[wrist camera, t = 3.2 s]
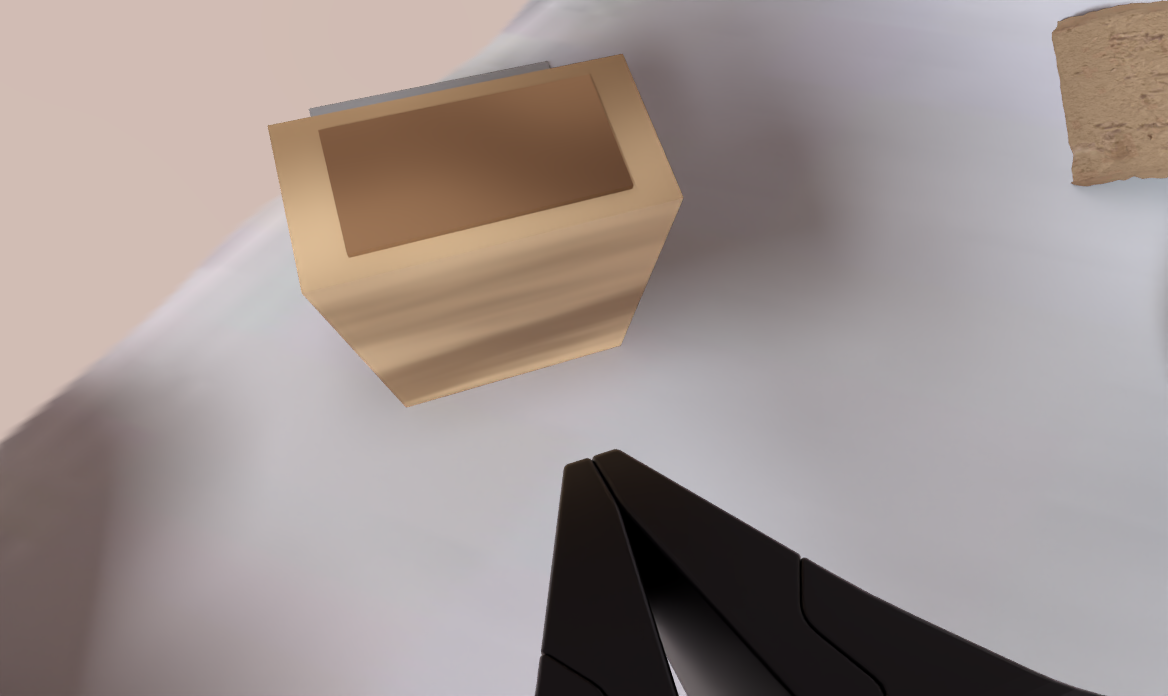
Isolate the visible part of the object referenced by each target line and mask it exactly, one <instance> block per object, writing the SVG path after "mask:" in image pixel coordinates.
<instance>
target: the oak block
mask: <svg viewBox="0 0 1168 696" xmlns="http://www.w3.org/2000/svg"><path fill="white" fill-rule="evenodd" d="M268 130H269V134H270V140H271V144H272V149H273V154H274V159H275V164H276V169H277V174H278V179H279V183H280V189H281V194H282V198H283V203H284V208H285V213H286V218H287V223H288V228H289V233H290V238H291V242H292V247H293V252H294V257H295V262H296V267H297V272H298V277H299V282H300V287H301V291H302V294H303V295H304V296H305V297H306V298H307V299H308V300H309V302H310V303H311V304H312V305H313V306H314V307H315V308H316V309H317V310H318V311H319V313H320V314H321V315H322V316H323V317H324V318H325V319H326V320H327V321H328V322H329V323H330V325H331V326H332V327H333V328H334V329H335V330H336V331H337V332H338V333H339V334H340V335H341V337H342V338H343V339H344V340H345V341H346V342H347V343H348V344H349V345H350V346H351V348H352V349H353V350H354V351H355V352H356V353H357V354H358V355H359V356H360V357H361V358H362V360H363V361H364V362H365V363H366V364H367V365H368V366H369V367H370V368H371V369H372V371H373V372H374V373H375V374H376V375H377V376H378V377H379V378H380V379H381V380H382V381H383V383H384V384H385V385H386V386H387V387H388V388H389V389H390V390H391V391H392V392H393V393H394V395H395V396H396V397H397V398H398V399H399V400H400V401H401V402H402V403H403V404H404V406H405V407H410V406H413V405H417V404H420V403H423V402H427V401H430V400H434V399H437V398H441V397H444V396H448V395H451V394H455V393H458V392H462V391H465V390H468V389H472V388H475V387H479V386H482V385H486V384H489V383H493V382H496V381H500V380H503V379H506V378H510V377H513V376H517V375H520V374H524V373H527V372H531V371H534V370H538V369H541V368H544V367H548V366H551V365H555V364H558V363H562V362H565V361H569V360H572V359H576V358H579V357H582V356H586V355H589V354H593V353H596V352H600V351H603V350H607V349H610V348H614V347H617V346H621V343H622V341H623V339H624V336H625V334H626V332H627V329H628V327H629V325H630V322H631V320H632V317H633V315H634V313H635V310H636V308H637V306H638V303H639V301H640V299H641V296H642V294H643V292H644V289H645V287H646V285H647V282H648V280H649V278H650V275H651V273H652V271H653V268H654V266H655V264H656V261H657V259H658V256H659V254H660V252H661V249H662V247H663V245H664V242H665V240H666V238H667V235H668V233H669V231H670V228H671V226H672V224H673V221H674V219H675V217H676V214H677V212H678V210H679V207H680V205H681V203H682V200H683V195H682V193H681V191H680V188H679V186H678V184H677V181H676V179H675V176H674V174H673V172H672V169H671V167H670V165H669V162H668V160H667V158H666V155H665V153H664V151H663V148H662V146H661V143H660V141H659V139H658V136H657V134H656V132H655V129H654V127H653V125H652V122H651V120H650V117H649V115H648V113H647V110H646V108H645V106H644V103H643V101H642V99H641V96H640V94H639V91H638V89H637V87H636V84H635V82H634V80H633V77H632V75H631V73H630V70H629V68H628V65H627V63H626V61H625V58H624V56H623V54H619V55H614V56H609V57H604V58H599V59H594V60H590V61H585V62H580V63H575V64H570V65H565V66H560V67H555V68H550V69H545V70H540V71H535V72H530V73H525V74H520V75H515V76H510V77H505V78H501V79H496V80H491V81H486V82H481V83H476V84H471V85H466V86H461V87H456V88H451V89H446V90H441V91H436V92H431V93H426V94H421V95H417V96H412V97H407V98H402V99H397V100H392V101H387V102H382V103H377V104H372V105H367V106H362V107H357V108H352V109H347V110H342V111H337V112H333V113H328V114H323V115H318V116H313V117H308V118H303V119H298V120H293V121H288V122H284V123H279V124H273V125H268Z"/></svg>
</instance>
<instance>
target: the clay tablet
mask: <svg viewBox="0 0 1168 696" xmlns="http://www.w3.org/2000/svg"><path fill="white" fill-rule="evenodd" d="M1052 41H1053V46H1054V51H1055V54H1056V60H1057V68H1058V73H1059V77H1060V88H1061V94H1062V101H1063V108H1064V112H1065V118H1066V125H1067V131H1068V140H1069V145H1070V148H1071V150H1072V152H1073V164H1072V173H1073V182H1072V184H1074V185H1079V186H1091V185H1095V184H1104V183H1108V182H1113V181H1116V180H1127V179H1129V178H1131V177H1133V176H1136V177H1139V178H1142V179H1144V178H1167V177H1168V1H1159V2H1152V3H1130V4H1127V5H1118V6H1114V7H1112V8H1105V9H1102V10H1099V11H1097V12H1096V11H1093V12H1089V13H1087V14H1085V15H1083V16H1075V17H1070V18H1067V19H1064V20H1063V21H1058V25H1057V28H1056V29H1055V30H1054V31H1053V32H1052Z"/></svg>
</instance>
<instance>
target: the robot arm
mask: <svg viewBox="0 0 1168 696" xmlns="http://www.w3.org/2000/svg"><path fill="white" fill-rule="evenodd" d="M541 654H542V656H541V657H540V661H539V669H538V677H537V685H536V691H535V696H679V695H678V692H677V689H676V686H675V682H674V679H673V676H672V673H671V670H670V666H669V663H668V660H669V662H670V664H671V666H672V668H673V669H674V671H675V673H676V675H677V677H678V679H679V681H680V683H681V684H682V686H683V688H684V690H685V692H686V694H687V696H1105V695H1101V694H1097V693H1094V692H1090V691H1087V690H1083V689H1080V688H1077V687H1074V686H1071V685H1068V684H1065V683H1063V682H1060V681H1057V680H1054V679H1052V678H1050V677H1047V676H1045V675H1043V674H1040V673H1038V672H1036V671H1033V670H1031V669H1029V668H1027V667H1025V666H1022V665H1020V664H1018V663H1016V662H1014V661H1012V660H1009V659H1007V658H1005V657H1003V656H1001V655H999V654H997V653H994V652H992V651H990V650H988V649H986V648H984V647H981V646H979V645H977V644H975V643H973V642H971V641H969V640H966V639H964V638H962V637H960V636H958V635H956V634H953V633H951V632H949V631H947V630H945V629H943V628H940V627H938V626H936V625H934V624H932V623H930V622H928V621H925V620H923V619H921V618H919V617H917V616H915V615H913V614H911V613H909V612H907V611H904V610H902V609H900V608H898V607H896V606H894V605H892V604H890V603H888V602H886V601H884V600H882V599H880V598H878V597H876V596H874V595H872V594H870V593H868V592H866V591H864V590H862V589H861V588H859V587H857V586H855V585H853V584H851V583H850V582H848V581H846V580H844V579H842V578H840V577H839V576H837V575H835V574H833V573H831V572H830V571H828V570H826V569H824V568H823V567H821V566H819V565H817V564H816V563H814V562H812V561H811V560H809V559H807V558H802V559H801V556H800V555H799V554H798V553H796V552H795V551H793V550H791V549H789V548H788V547H786V546H784V545H783V544H781V543H779V542H777V541H776V540H774V539H772V538H771V537H769V536H767V535H765V534H764V533H762V532H760V531H758V530H757V529H755V528H753V527H752V526H750V525H748V524H746V523H745V522H743V521H741V520H740V519H738V518H736V517H734V516H733V515H731V514H729V513H727V512H726V511H724V510H722V509H721V508H719V507H717V506H715V505H714V504H712V503H710V502H709V501H707V500H705V499H703V498H702V497H700V496H698V495H696V494H695V493H693V492H691V491H690V490H688V489H686V488H684V487H683V486H681V485H679V484H678V483H676V482H674V481H672V480H671V479H669V478H667V477H665V476H664V475H662V474H660V473H659V472H657V471H655V470H653V469H652V468H650V467H648V466H647V465H645V464H643V463H641V462H640V461H638V460H636V459H634V458H633V457H631V456H629V455H628V454H626V453H624V452H622V451H621V450H617V449H614V450H611V451H607V452H604V453H601V454H598V455H595V456H594V457H593V459H592V460H591V459H588V458H586V459H582V460H579V461H576V462H573V463H570V464H567V465H566V466H565V467H564V471H563V479H562V487H561V495H560V503H559V511H558V519H557V527H556V535H555V543H554V551H553V559H552V567H551V575H550V583H549V591H548V599H547V607H546V616H545V624H544V632H543V640H542V648H541ZM666 656H667V657H666ZM667 658H668V660H667Z"/></svg>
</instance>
